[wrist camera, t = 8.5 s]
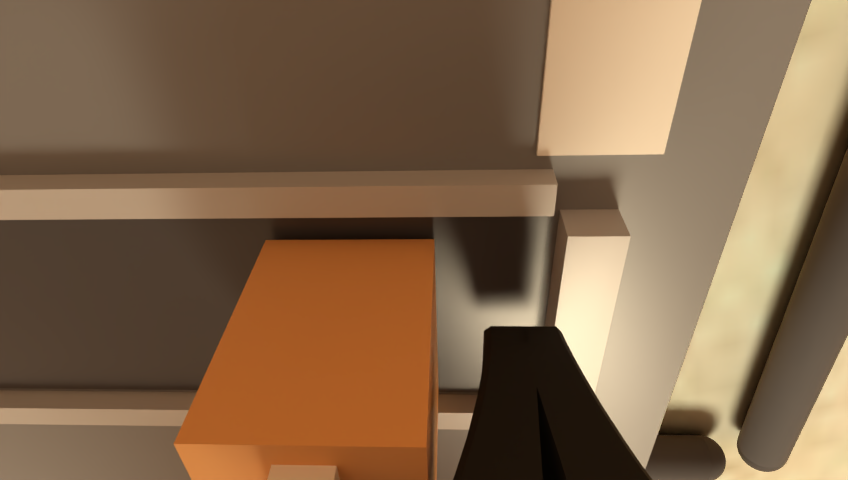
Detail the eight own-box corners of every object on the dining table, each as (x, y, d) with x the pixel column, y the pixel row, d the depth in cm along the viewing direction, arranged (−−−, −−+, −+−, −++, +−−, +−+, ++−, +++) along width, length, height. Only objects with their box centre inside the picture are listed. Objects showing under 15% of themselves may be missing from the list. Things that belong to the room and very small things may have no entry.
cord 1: (721, 426, 16) (739, 465, 15) (709, 451, 16) (725, 490, 15) (-72, 417, 17) (-104, 453, 16) (-51, 441, 17) (-80, 476, 16)
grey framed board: (619, 448, 16) (642, 531, 14) (-34, 439, 17) (-95, 515, 15) (786, -119, 8) (892, -103, 6) (-478, -73, 9) (-730, -48, 7)
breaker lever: (438, 388, 12) (432, 640, 8) (302, 386, 12) (236, 634, 8) (434, 239, 10) (424, 496, 6) (266, 240, 10) (151, 491, 6)
